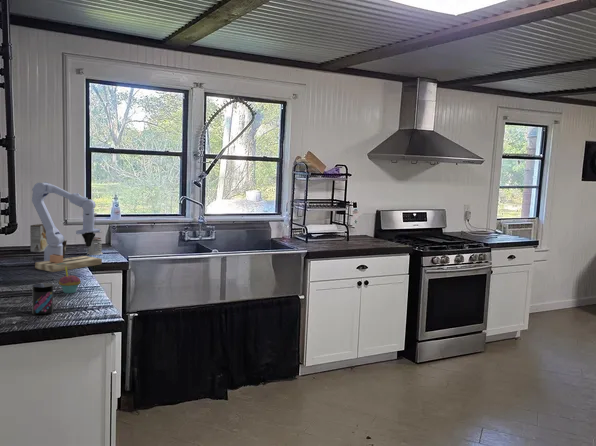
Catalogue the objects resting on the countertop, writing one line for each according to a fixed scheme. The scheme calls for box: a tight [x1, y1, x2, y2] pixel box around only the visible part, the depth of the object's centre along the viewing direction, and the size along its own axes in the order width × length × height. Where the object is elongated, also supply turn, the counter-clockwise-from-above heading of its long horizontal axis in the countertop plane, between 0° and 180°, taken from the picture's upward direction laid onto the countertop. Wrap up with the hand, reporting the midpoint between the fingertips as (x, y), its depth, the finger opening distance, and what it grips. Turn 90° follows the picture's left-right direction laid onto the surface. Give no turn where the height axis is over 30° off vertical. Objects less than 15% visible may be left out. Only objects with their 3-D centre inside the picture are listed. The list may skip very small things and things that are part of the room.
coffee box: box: [29, 223, 48, 253], centre depth 316 cm, size 9×6×16 cm
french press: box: [83, 212, 104, 256], centre depth 315 cm, size 10×12×25 cm
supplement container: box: [31, 282, 54, 317], centre depth 186 cm, size 7×7×10 cm
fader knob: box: [50, 254, 64, 263], centre depth 267 cm, size 5×4×4 cm
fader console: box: [34, 255, 103, 273], centre depth 274 cm, size 14×30×3 cm, turn 152°
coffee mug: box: [62, 239, 68, 259], centre depth 298 cm, size 12×9×10 cm
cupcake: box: [58, 265, 82, 294], centre depth 219 cm, size 9×8×12 cm
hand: (88, 246), depth 284 cm, fingers closed
